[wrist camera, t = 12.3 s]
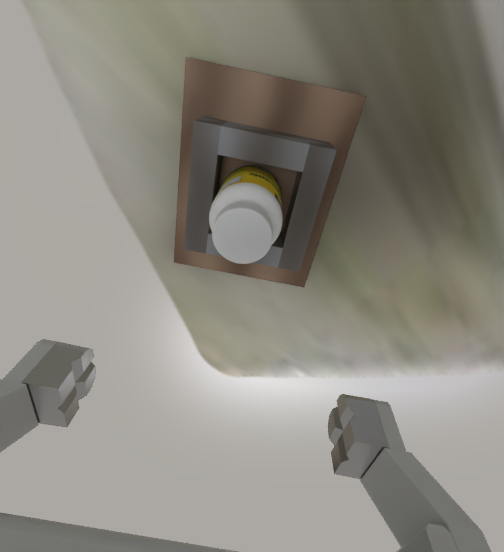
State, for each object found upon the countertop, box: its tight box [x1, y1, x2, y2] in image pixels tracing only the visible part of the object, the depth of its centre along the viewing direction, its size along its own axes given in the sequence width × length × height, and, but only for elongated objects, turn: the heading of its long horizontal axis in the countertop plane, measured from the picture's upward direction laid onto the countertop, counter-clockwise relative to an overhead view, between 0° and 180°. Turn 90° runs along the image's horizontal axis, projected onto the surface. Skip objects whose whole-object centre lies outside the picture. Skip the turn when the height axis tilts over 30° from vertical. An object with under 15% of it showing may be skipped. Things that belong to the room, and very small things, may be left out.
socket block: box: [174, 57, 366, 287], centre depth 28 cm, size 14×18×4 cm
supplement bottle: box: [209, 165, 283, 264], centre depth 25 cm, size 5×5×10 cm
